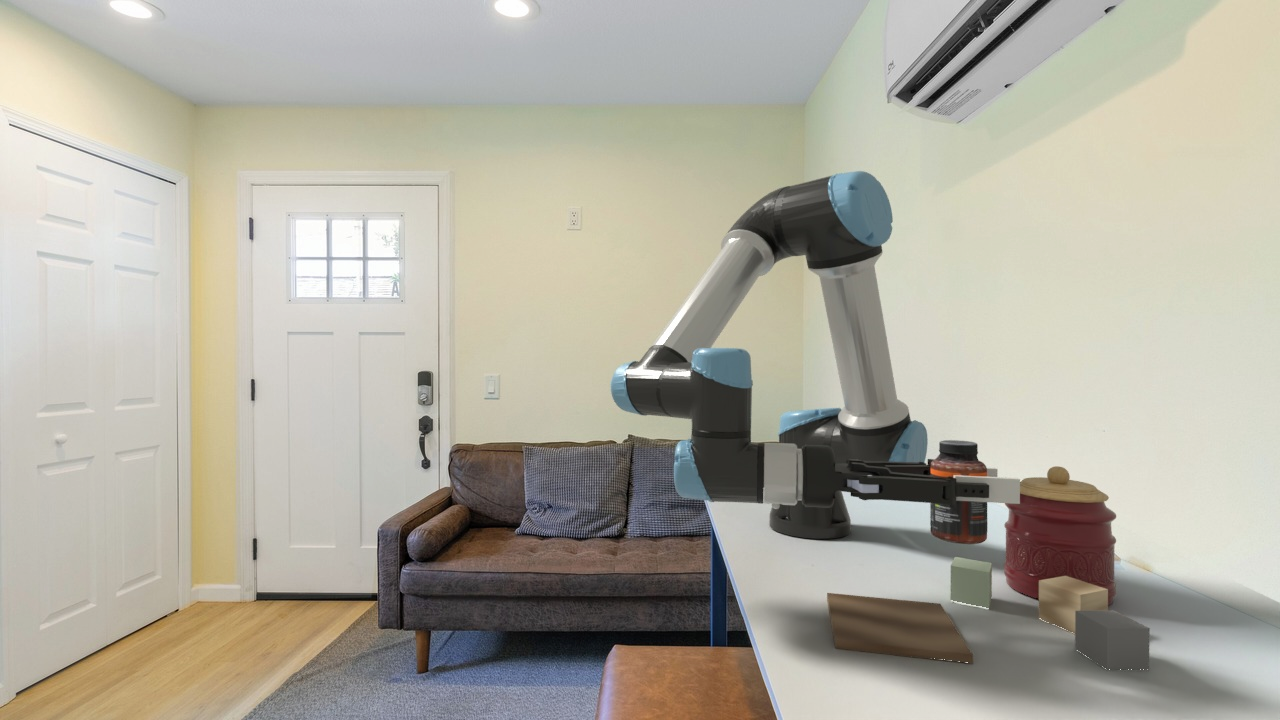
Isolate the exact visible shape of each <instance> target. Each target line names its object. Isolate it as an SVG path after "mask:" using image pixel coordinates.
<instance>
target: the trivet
mask: <svg viewBox="0 0 1280 720" xmlns="http://www.w3.org/2000/svg"><path fill="white" fill-rule="evenodd" d="M826 602H827V608H828V613H829V619H830V626H831V631H832V635H833V636H832V637H833V642H834V647H835V649H840V650H847V651H857V652H867V653H874V654H875V653H876V654H883V655H892V656H899V655H901V657H907V656H909V658H916V657H920V658H919V659H925V658H932V659H931V660H933V659H934V658H935V659H943V660H944V659H945V660H952V661H960V662H968V663H973V664H974V654H973V653H972V651H971V649H970V648H969V646H968V645H967V643H966V641H965V640H964V638H963V637H962V635H961V634H960V632H959V631H958V628H956V626H955V624H954V623H953V621H952V620H951V618H950V616H949V615H948V614H947V612H946V610H945V609H944V607H943V605H942V604H941V603H939V602H938V603H936V602H929V601H928V602H927V601H918V600H917V601H916V600H907V599H896V598H894V599H893V598H888V597H887V598H884V597H875V596H865V595H864V596H863V595H856V594H842V593H833V592H827V593H826ZM911 656H912V657H911ZM968 663H967V664H968Z"/></svg>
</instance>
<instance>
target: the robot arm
mask: <svg viewBox="0 0 1280 720" xmlns="http://www.w3.org/2000/svg"><path fill="white" fill-rule="evenodd" d="M892 223H893V212H892V207H891V203H890V200H889V196H888V195H887V192H886V190H885V188H884V187H883V185H882V184H881V182H880V181H879V180H877V178H876V177H875V176H874V175H873V174H871V173H869V172H866V171H864V170H856V171H849V172H844V173H843V172H841V173H835V174H832V175H828V176H825V177H821V178H817V179H813V180H810V181H806V182H801V183H797V184H793V185H786V186H783V187H780V188H777V189H775V190H773V191H771V192H769V193H767V194H766V195H764V196H763V197H761V198H760V199H759V200H758V201H756V202H755V203H754V204H752V206H750V207H749V208H748V209H746V211H745V212H744V213H743V214H741V216H740V217H739V218H738V219H737V220H736V221H735V222H734V224H733V225H732V226H731V227H730V228H729V230H728V231H727V232H726V234H725V235H724V236H723V238H722V240H721V243H720V249H721V250H720V252H719V253H718V254H717V256H716V257H715V259H713V261H712V263H711V264H710V265H709V266H708V268H707V270H706V271H705V272H704V273H703V275H702V276H701V278H700V279H699V280H698V282H697V283H696V284H695V285H694V287H693V288H692V289H691V291H690V292H689V294H688V295H687V297H686V298H685V300H684V301H683V302H682V303H681V305H680V306H679V307H678V309H677V310H676V311H675V313H674V314H673V316H672V317H671V318H670V319H669V321H668V322H667V324H666V325H665V326H664V328H663V329H662V330H661V332H660V333H659V334H658V336H657V337H656V339H655V340H654V341H653V343H651V345H650V347H649V348H648V350H647V351H646V352H645V353H644V355H643V356H642V357H641V358H640V360H639V361H637V360H634V361H633V360H632V361H631V362H630V361H629V362H626V363H623V364H622V365H620V366H618V367H617V368H616V370H615V371H614V372H613V374H612V378H611V380H610V392H611V393H610V394H611V397H612V400H613V402H614V403H615V406H617V407H618V408H620V410H622V411H624V412H626V413H630V414H631V413H632V414H636V415H640V416H645V417H646V416H656V417H667V418H675V419H684V420H685V419H687V420H691V434H690V437H691V438H688V439H685V440H683V439H682V440H680V441H679V442H678V443H677V444H676V447H675V450H674V463H673V481H674V488H675V491H676V493H677V494H678V495H679V496H680V497H681V498H684V499H690V500H691V499H692V500H700V501H708V502H710V503H714V502H718V503H719V502H720V503H724V502H725V503H741V504H742V503H743V504H744V503H746V504H748V503H749V504H760V505H761V504H763V505H764V504H765V505H770V504H771V509H770V511H769V522H768V523H769V527H770V528H771V529H772V530H773V531H776V532H778V533H780V534H784V535H787V536H791V537H798V538H803V539H804V538H805V539H816V540H817V539H818V540H819V539H820V540H821V539H822V540H823V539H825V540H830V539H838V538H842V537H843V538H844V537H846V536H849V534H851V530H852V529H851V528H852V526H851V525H852V521H851V516H850V514H849V510H848V508H847V504H846V502H845V501H846V500H845V499H844V496H843V492H844V493H850V497H855V498H858V499H860V500H862V501H869V500H870V501H872V500H873V501H875V500H877V501H878V500H879V501H880V500H881V501H883V500H884V501H895V502H896V501H897V502H911V503H925V504H927V503H929V504H930V503H939V504H947V505H950V508H956V501H975V502H987V503H994V504H995V503H996V504H997V503H998V504H1005V503H1012V504H1020V482H1021V479H1020V478H1018V477H1006V476H1005V477H1004V476H1003V477H1002V476H998V468H996V467H986V468H987V477H985V476H963V475H953V477H951V476H948V477H942V476H931V462H932V461H933V460H934V459H935V458H934V459H933V458H928V459H927V463H926V462H925V461H926V458H927V457H926V456H927V453H928V430H927V428H926V426H925V424H924V423H923V422H921V421H918V420H916V419H915V420H911V416H910V415H911V414H910V410H909V406H908V405H907V404H906V403H905V402H904V401H901V400H900V399H898V396H897V389H896V384H895V383H896V382H895V379H894V373H893V366H892V362H891V360H892V359H891V356H890V349H889V344H888V337H887V333H886V332H887V331H886V325H885V320H884V319H885V318H884V314H883V307H882V302H881V296H880V292H879V291H880V289H879V284H878V279H877V273H876V268H875V265H876V263H877V262H878V260H879V259H880V257H882V255H883V252H884V251H883V247H882V245H883V244H886V243H887V242H888V240H889V239H890V237H891V235H892V232H893V226H892ZM801 256H805V260H806V265H807V269H808V271H810V272H812V273H814V274H815V275H817V276H818V277H819V282H820V287H821V292H822V297H823V301H824V307H825V311H826V316H827V317H826V318H827V322H828V328H829V331H830V336H831V337H830V338H831V341H832V342H831V343H832V347H833V348H832V349H833V352H834V358H835V363H836V368H837V374H838V377H839V379H838V380H839V382H840V388H841V393H842V400H843V405H844V407H843V408H840V407H829V408H818V409H817V408H816V409H815V408H814V409H805V410H804V409H802V410H791V411H786V412H784V413H783V414H781V416H780V419H779V430H778V435H777V436H778V443H777V442H752V406H753V405H752V403H753V402H752V401H753V400H752V399H753V397H752V395H753V394H752V393H753V389H752V388H753V385H754V383H753V378H752V362H751V361H752V360H751V354H750V353H749V352H748V351H747V350H745V349H743V348H738V347H735V348H734V347H733V348H732V347H730V348H729V347H713V345H714V344H715V342H716V341H717V340H718V338H719V336H720V335H721V333H722V332H723V330H724V329H725V327H726V326H727V325H728V323H729V322H730V320H731V319H732V317H733V316H734V314H735V312H736V311H737V310H738V308H739V307H740V305H741V303H742V302H743V301H744V299H745V298H746V297H747V295H748V294H749V292H750V290H751V289H752V288H753V286H754V284H755V283H756V281H757V280H758V278H759V277H762V276H765V275H766V274H768V273H769V272H770V271H771V270H772V268H773V267H774V266H775V264H776V263H778V262H780V261H782V260H784V259H788V258H791V257H801Z"/></svg>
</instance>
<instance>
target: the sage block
mask: <svg viewBox="0 0 1280 720" xmlns="http://www.w3.org/2000/svg"><path fill="white" fill-rule="evenodd" d="M992 571H993V563H992V562H989V561H982V560H981V561H980V560H975V559H970V558H966V557H965V558H964V557H958V556H954V558H953V560H952V562H951V563H950V600H953V601H957V602H962V603H966V604H971V605H976V606H982V607H986V608H989V606H990V607H991V604H990V602H991V603H992V600H991V597H992V596H993V594H992V593H993V592H992V591H993V590H992V589H993V588H992V587H993V585H992V584H993V583H992V582H993V580H992V579H993V578H992V577H993V573H992Z"/></svg>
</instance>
